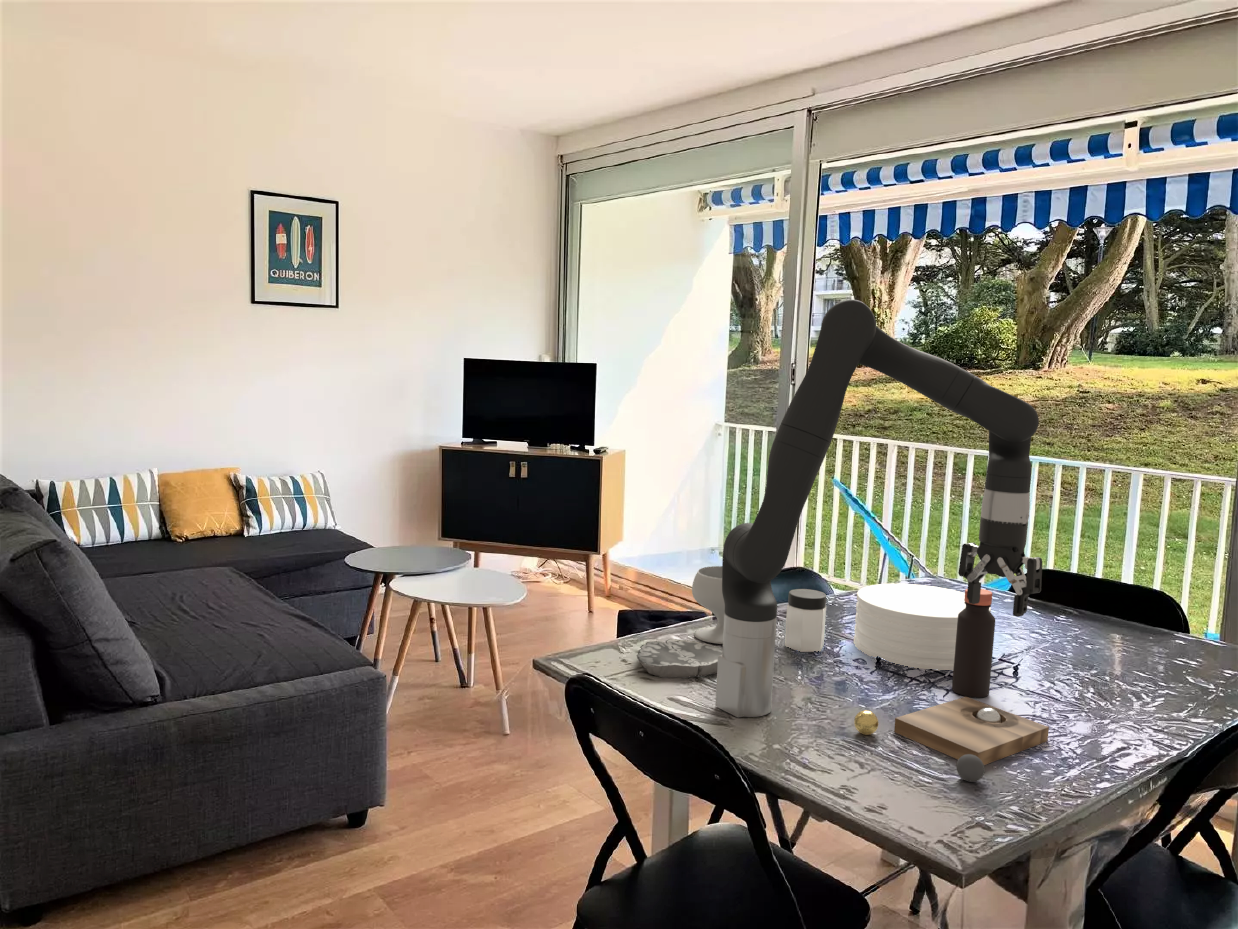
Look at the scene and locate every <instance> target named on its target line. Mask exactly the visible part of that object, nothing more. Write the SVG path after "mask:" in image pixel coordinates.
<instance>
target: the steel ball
mask: <svg viewBox="0 0 1238 929" xmlns="http://www.w3.org/2000/svg"><path fill="white" fill-rule="evenodd" d="M976 718H977V719H979V720H982V721H985V722H991V723H1001V717H1000V715H999V713H998V712H997V711H996V710H994V709H992V708H983V709H981V710H980V711H979V712H978V713H977V715H976Z"/></svg>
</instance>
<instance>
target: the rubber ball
mask: <svg viewBox="0 0 1238 929" xmlns="http://www.w3.org/2000/svg"><path fill="white" fill-rule="evenodd" d="M956 772H957V774H958V776H959V777H960V779H963V781H966V782H968V783H975V782H978V781H980V780H981V779H982V778H983V776H984V774H985V765H984V764H983V762H982V761H981V760H980V759H979V758H978V757H977V756H975V755H972V754H966V755H963V756H962V757H960V758H959V760H958V759H957V761H956Z"/></svg>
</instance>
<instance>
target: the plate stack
mask: <svg viewBox="0 0 1238 929" xmlns="http://www.w3.org/2000/svg"><path fill="white" fill-rule="evenodd" d="M964 599H965V592H962V591H959V590H955V589H951V588H944V587H939V586H932V585H924V584H915V583H913V584H912V583H880V584H871V585H867V586H863V587H861V588H860V589H858V590H857V592H856V600H857V601H856V603H855V604H856V605H855V611H856V613H855V617H854V618H855V624H854V636H853V644H855V645H854V646H855V647H857V648H858V649H857V648H856V649H857V650H858V651H860V650H861V651H862V653H863V652H864V653H863V654H864V655H866V654H867V655H866V656H869V657H871V656H873V657H877V656H879V657H881V658H883V659H885V660H887V661H889V662H893V663H895V664H894V665H896V664H900V665H904V666H903V667H905V666H908V667H907V668H911V667H914V668H913V669H917V668H919V669H920V670H926V669H938V670H937V671H940V670H953V669H954V657H955V645H956V633H957V621H958V614H959V613H960V612H961V611H962V610H963V609H965V608H966V604H965V603H964V602H965V601H964ZM989 611H990V613H991V614H992V606H991V607H989ZM861 651H860V652H861ZM873 657H872V658H873ZM900 665H899V666H900ZM919 669H918V670H919Z"/></svg>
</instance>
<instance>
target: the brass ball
mask: <svg viewBox="0 0 1238 929" xmlns="http://www.w3.org/2000/svg"><path fill="white" fill-rule="evenodd" d="M853 723H854V724H853V725H854V727H855V729H856V730H857V731H858V732H859V733H860V734H862V735H864V736H869V735H872V734H874V733H876V731H877V730H878V728H879V718H878V717H877V715H876V714H875V713H874V712H872V711H871V710H866V709H865V710H861V711H859V712H858V713H857V714H856V715H855V717H854V720H853Z"/></svg>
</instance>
